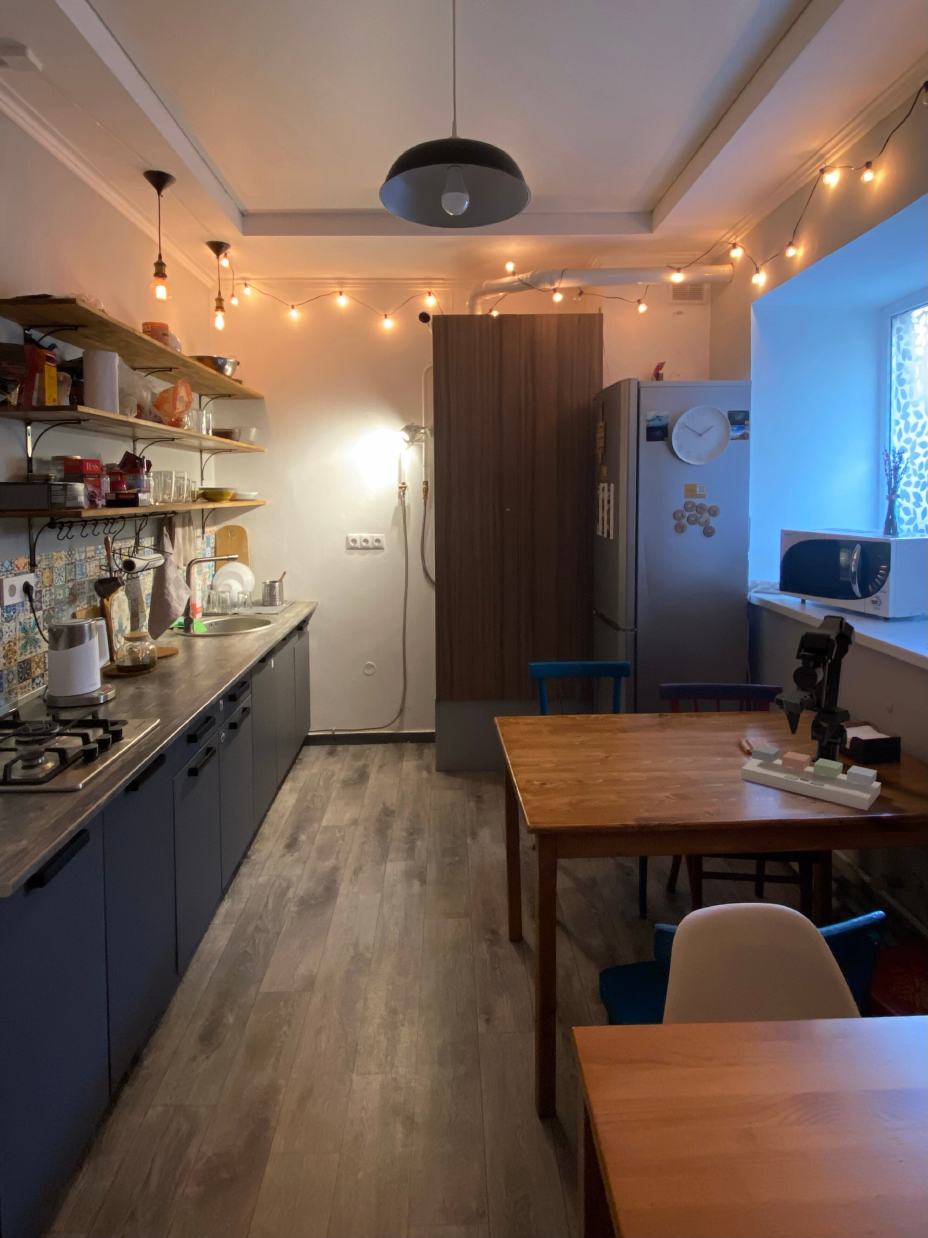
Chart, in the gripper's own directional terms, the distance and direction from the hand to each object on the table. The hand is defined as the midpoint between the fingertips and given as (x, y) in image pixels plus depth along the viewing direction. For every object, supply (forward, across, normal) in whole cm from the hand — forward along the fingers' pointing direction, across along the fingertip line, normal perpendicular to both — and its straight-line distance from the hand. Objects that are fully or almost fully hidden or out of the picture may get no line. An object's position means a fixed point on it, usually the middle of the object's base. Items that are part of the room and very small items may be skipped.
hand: (808, 739), depth 200 cm
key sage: (+9, +3, +5) cm, 11 cm away
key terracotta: (+9, -5, +2) cm, 10 cm away
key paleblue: (+9, +10, +8) cm, 16 cm away
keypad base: (+14, 0, +3) cm, 14 cm away
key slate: (+9, -12, -1) cm, 15 cm away
